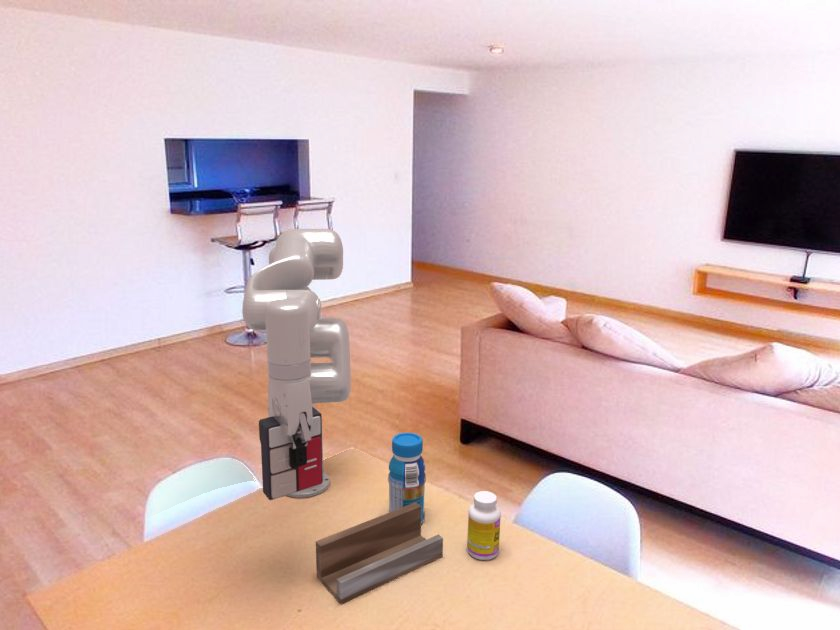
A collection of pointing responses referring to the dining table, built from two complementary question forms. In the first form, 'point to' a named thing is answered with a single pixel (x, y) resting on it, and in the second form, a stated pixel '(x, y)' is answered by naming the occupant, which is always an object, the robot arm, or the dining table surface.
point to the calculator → (277, 463)
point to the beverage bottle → (407, 472)
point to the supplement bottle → (483, 526)
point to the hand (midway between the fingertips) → (293, 459)
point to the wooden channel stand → (375, 553)
